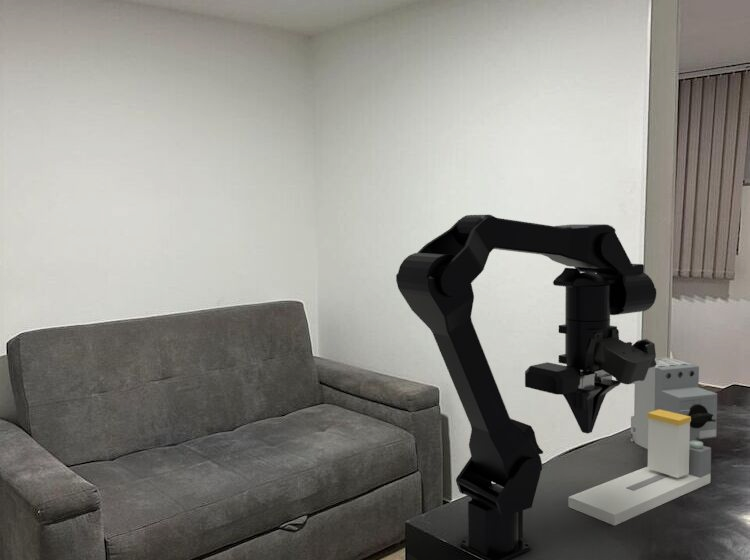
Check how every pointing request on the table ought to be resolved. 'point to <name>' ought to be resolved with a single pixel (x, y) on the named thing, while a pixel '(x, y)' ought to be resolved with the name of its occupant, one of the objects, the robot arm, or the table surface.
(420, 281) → the robot arm
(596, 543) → the table surface
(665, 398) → the circuit breaker
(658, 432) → the handle
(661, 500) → the long white slab
